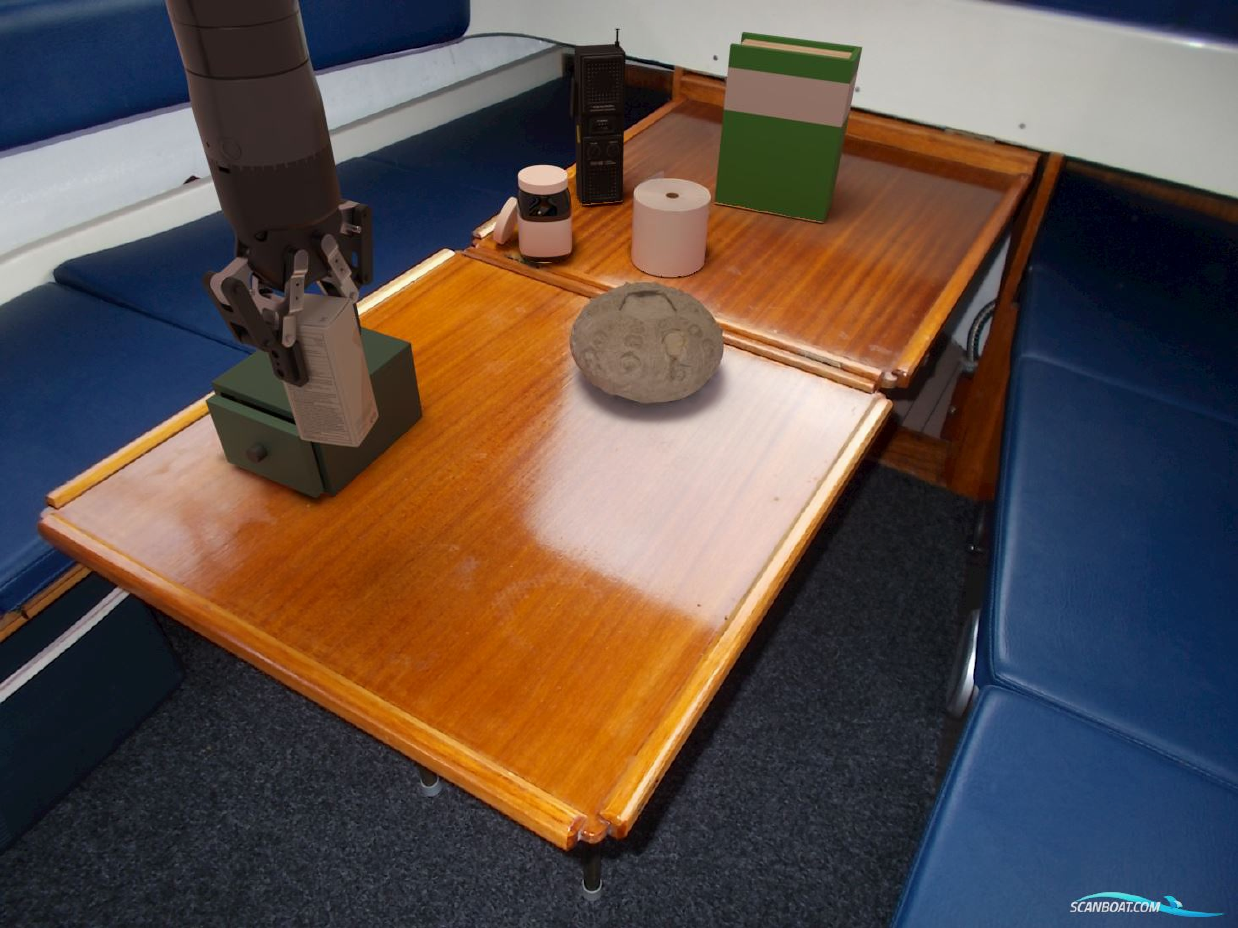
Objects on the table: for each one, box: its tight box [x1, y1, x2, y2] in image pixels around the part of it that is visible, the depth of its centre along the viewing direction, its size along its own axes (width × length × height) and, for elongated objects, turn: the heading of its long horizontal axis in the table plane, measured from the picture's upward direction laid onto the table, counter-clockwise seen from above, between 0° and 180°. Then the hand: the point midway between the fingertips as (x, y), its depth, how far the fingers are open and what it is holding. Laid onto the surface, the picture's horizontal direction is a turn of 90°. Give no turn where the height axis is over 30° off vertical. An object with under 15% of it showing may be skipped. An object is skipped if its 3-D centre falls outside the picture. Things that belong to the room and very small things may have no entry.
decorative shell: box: [569, 280, 725, 405], centre depth 99 cm, size 18×18×10 cm
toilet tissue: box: [630, 169, 712, 278], centre depth 122 cm, size 11×12×10 cm
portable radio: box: [569, 28, 627, 204], centre depth 131 cm, size 8×6×25 cm
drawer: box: [205, 393, 324, 499], centre depth 88 cm, size 15×12×8 cm
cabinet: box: [210, 326, 424, 498], centre depth 90 cm, size 15×13×10 cm
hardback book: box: [713, 31, 863, 222], centre depth 131 cm, size 18×7×24 cm, turn 69°
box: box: [275, 292, 378, 447], centre depth 65 cm, size 5×4×11 cm
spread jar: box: [492, 164, 573, 263], centre depth 122 cm, size 12×11×12 cm
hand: (322, 362), depth 65 cm, fingers closed on box, 5 cm apart
